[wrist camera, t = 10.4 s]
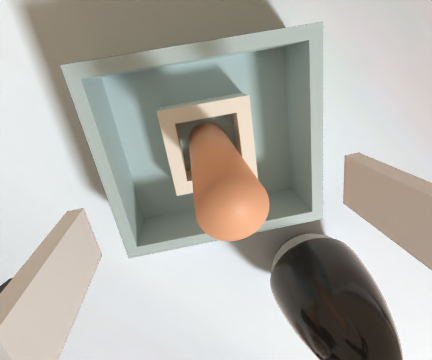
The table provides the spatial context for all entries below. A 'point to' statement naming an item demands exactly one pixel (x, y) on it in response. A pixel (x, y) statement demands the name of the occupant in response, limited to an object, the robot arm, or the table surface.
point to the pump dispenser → (333, 300)
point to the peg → (224, 186)
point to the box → (198, 113)
